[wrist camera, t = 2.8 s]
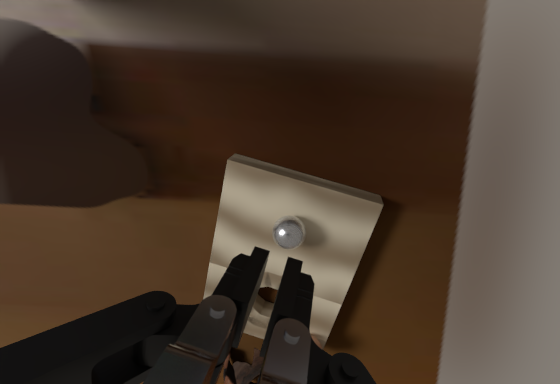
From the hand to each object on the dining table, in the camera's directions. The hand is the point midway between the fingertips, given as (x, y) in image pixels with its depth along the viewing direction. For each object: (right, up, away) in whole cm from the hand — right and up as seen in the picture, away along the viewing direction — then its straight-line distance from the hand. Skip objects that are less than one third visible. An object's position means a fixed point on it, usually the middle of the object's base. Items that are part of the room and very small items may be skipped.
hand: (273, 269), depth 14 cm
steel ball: (+1, 0, +16) cm, 16 cm away
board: (+1, -4, +22) cm, 23 cm away
